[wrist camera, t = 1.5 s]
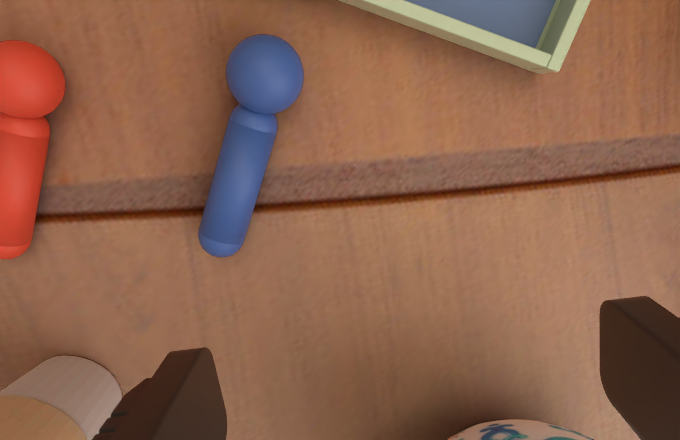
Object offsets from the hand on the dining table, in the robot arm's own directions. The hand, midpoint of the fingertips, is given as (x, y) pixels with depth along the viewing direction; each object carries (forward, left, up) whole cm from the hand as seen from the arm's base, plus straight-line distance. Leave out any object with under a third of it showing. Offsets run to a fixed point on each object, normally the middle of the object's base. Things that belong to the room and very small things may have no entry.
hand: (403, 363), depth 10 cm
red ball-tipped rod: (-18, -3, -17) cm, 24 cm away
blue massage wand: (-7, +1, -17) cm, 18 cm away
